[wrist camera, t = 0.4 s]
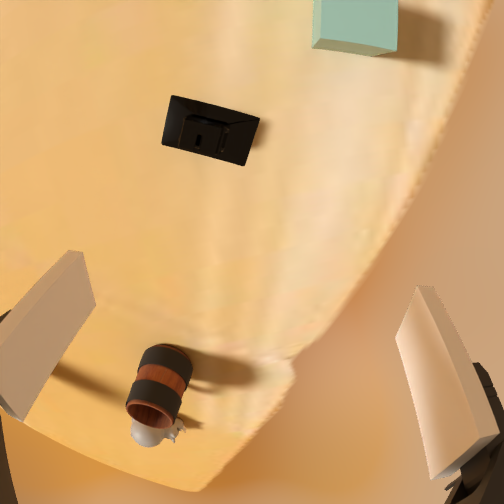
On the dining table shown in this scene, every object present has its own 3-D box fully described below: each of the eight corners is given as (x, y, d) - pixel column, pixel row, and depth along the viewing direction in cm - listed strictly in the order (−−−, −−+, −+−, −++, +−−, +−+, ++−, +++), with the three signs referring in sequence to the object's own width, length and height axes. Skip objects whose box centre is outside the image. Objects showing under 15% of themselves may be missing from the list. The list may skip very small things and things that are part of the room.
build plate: (150, 146, 33) (132, 156, 30) (164, 83, 30) (146, 85, 26) (256, 176, 34) (252, 190, 30) (277, 112, 30) (275, 117, 26)
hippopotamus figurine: (180, 417, 66) (187, 449, 59) (129, 418, 61) (133, 451, 55) (183, 403, 62) (190, 438, 55) (127, 404, 58) (131, 440, 51)
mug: (140, 374, 54) (120, 425, 44) (148, 335, 48) (122, 392, 38) (184, 390, 55) (169, 443, 45) (199, 354, 49) (182, 415, 39)
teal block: (313, -5, 23) (321, -29, 16) (372, 4, 23) (397, -15, 16) (311, 48, 26) (320, 38, 19) (371, 56, 26) (396, 51, 19)
